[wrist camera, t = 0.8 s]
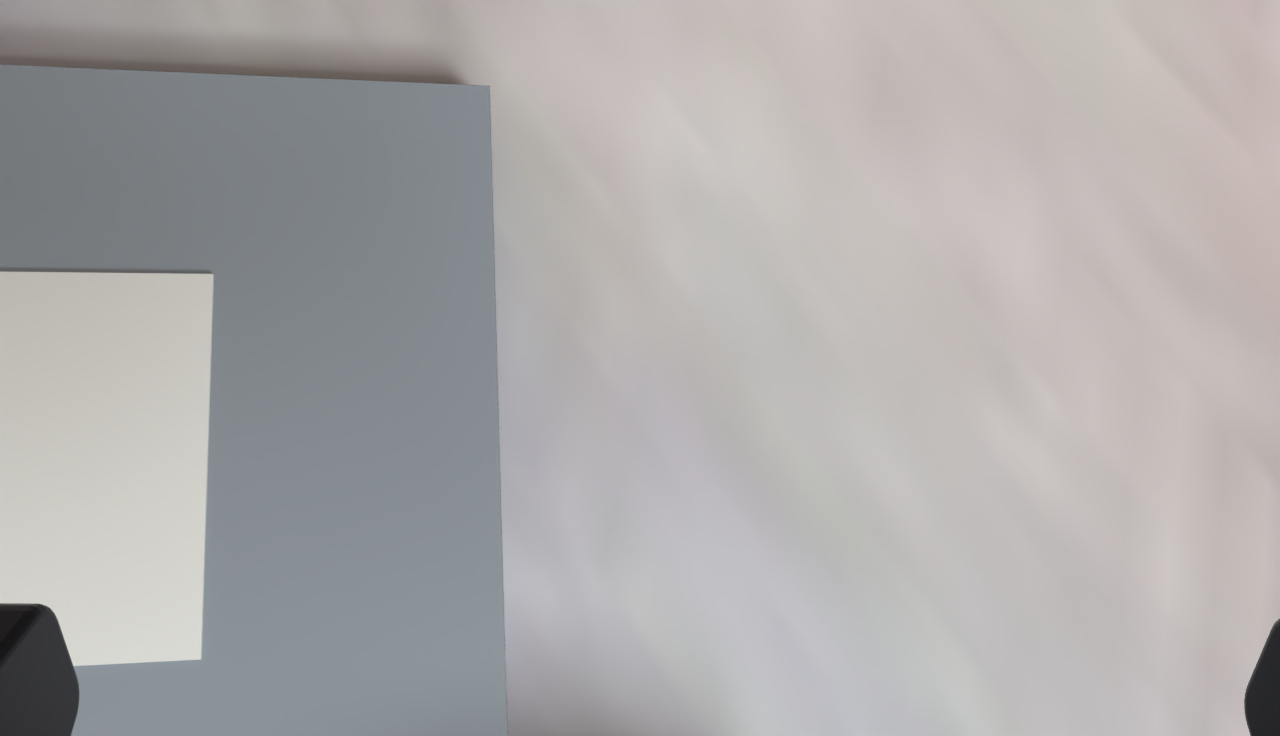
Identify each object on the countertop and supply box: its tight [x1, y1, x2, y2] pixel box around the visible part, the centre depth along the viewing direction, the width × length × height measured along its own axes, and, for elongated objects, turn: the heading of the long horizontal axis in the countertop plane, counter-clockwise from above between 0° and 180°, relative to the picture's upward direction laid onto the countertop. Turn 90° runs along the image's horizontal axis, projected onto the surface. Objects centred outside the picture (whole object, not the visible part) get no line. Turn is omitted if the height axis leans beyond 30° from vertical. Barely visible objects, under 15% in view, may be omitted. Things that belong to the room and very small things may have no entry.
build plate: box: [0, 64, 507, 736], centre depth 20 cm, size 14×16×1 cm
